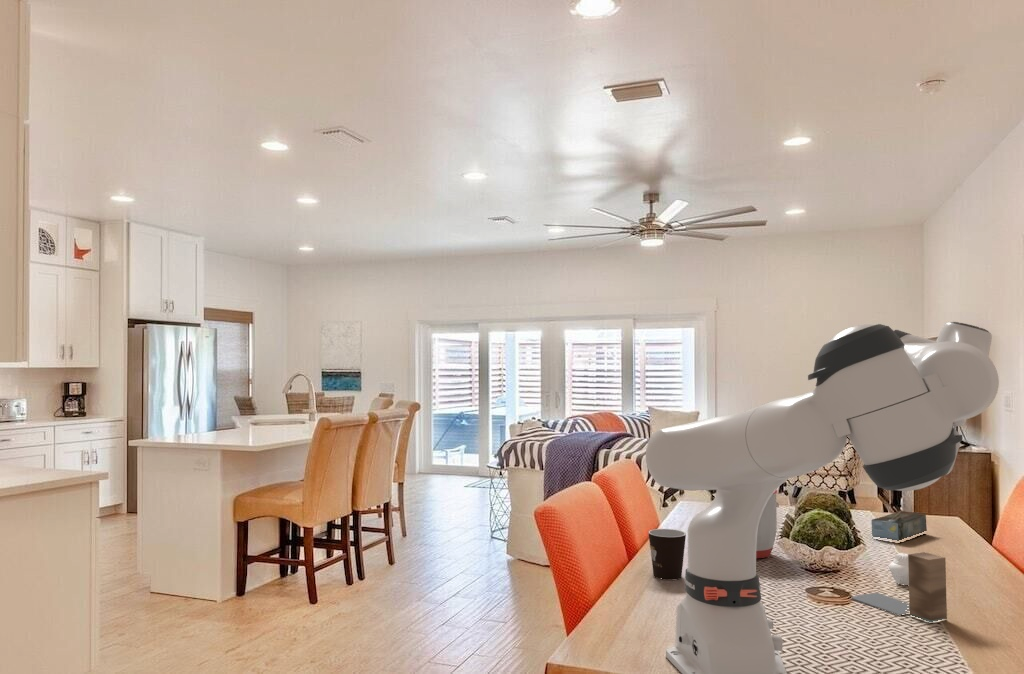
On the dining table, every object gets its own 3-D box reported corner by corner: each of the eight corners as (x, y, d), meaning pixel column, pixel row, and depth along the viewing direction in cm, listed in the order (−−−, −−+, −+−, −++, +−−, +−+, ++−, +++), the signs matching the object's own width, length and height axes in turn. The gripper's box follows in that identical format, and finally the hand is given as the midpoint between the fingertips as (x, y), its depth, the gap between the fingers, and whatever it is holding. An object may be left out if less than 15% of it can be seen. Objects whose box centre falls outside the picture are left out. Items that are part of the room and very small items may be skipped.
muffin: (902, 579, 168) (902, 548, 168) (926, 586, 162) (925, 554, 163) (882, 581, 166) (882, 550, 166) (906, 589, 160) (905, 557, 160)
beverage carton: (870, 539, 208) (869, 516, 208) (900, 530, 220) (899, 508, 220) (899, 545, 202) (898, 521, 202) (928, 535, 214) (927, 512, 214)
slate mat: (928, 611, 146) (928, 609, 146) (899, 616, 143) (899, 614, 143) (876, 594, 157) (876, 592, 157) (849, 598, 154) (849, 597, 154)
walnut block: (947, 620, 140) (945, 557, 141) (930, 623, 138) (929, 559, 139) (925, 613, 144) (924, 552, 145) (909, 616, 143) (908, 554, 143)
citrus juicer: (797, 558, 187) (795, 479, 188) (742, 564, 180) (741, 483, 181) (755, 544, 201) (754, 471, 202) (703, 550, 195) (702, 474, 196)
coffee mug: (687, 582, 165) (686, 537, 166) (648, 580, 167) (648, 536, 167) (685, 568, 176) (685, 527, 177) (649, 566, 178) (648, 525, 179)
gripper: (977, 431, 123) (950, 504, 127) (943, 397, 142) (921, 461, 146) (937, 421, 125) (912, 493, 128) (909, 389, 144) (887, 453, 147)
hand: (916, 476), depth 137 cm, fingers closed
